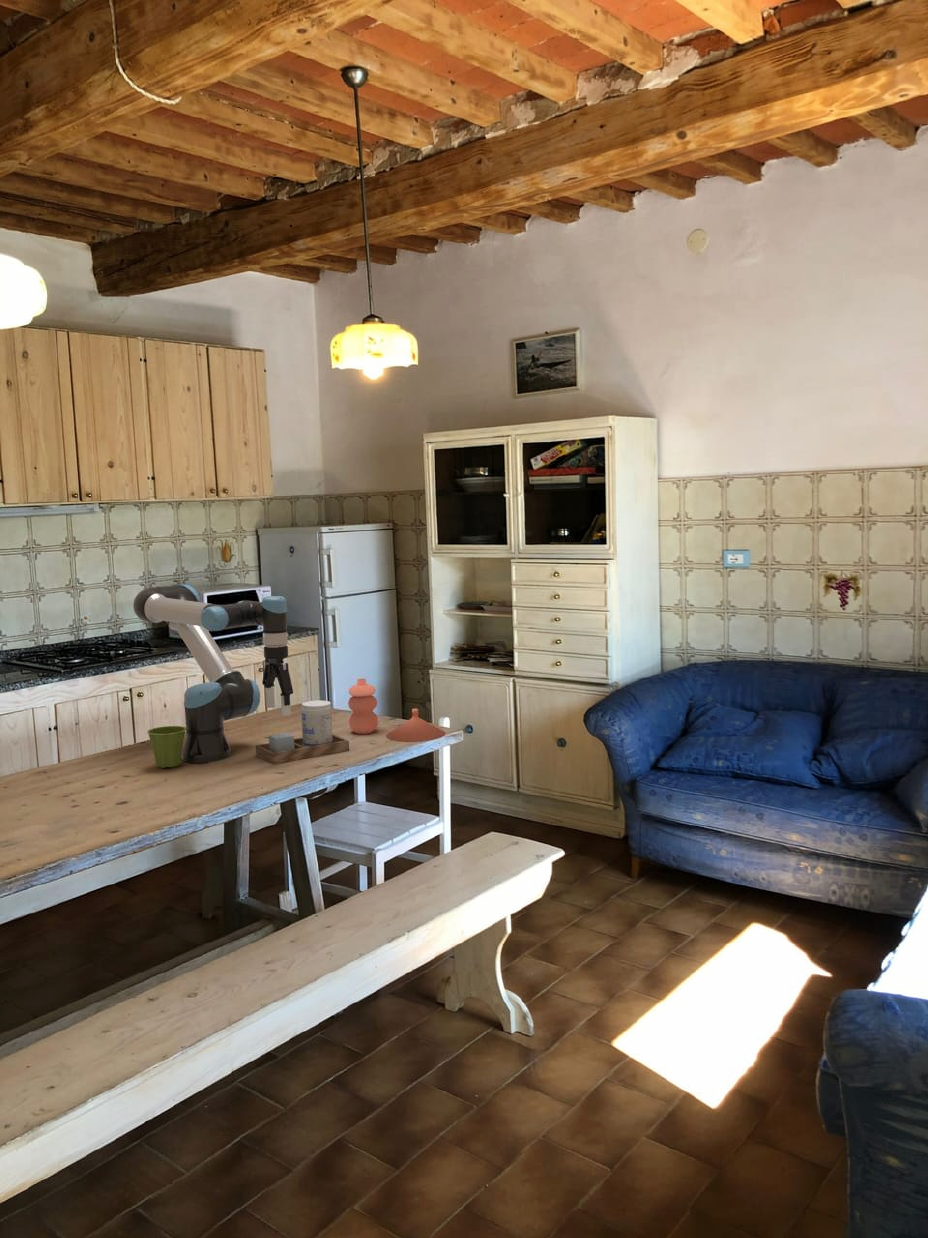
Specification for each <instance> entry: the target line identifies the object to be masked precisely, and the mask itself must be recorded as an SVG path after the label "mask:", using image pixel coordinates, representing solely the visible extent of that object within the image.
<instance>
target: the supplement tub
mask: <svg viewBox="0 0 928 1238" xmlns="http://www.w3.org/2000/svg"><path fill="white" fill-rule="evenodd" d="M332 714H333V713H332V703H331V701H329V700H309V701H305V702H303V703H301V724H302V725H301V726H302V727H301V729H302V730H301V733H302V738H303V747H310V746H316V745H322V744H328V743H333V740H332V734H333V715H332Z"/></svg>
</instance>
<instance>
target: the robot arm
mask: <svg viewBox="0 0 928 1238" xmlns="http://www.w3.org/2000/svg"><path fill="white" fill-rule="evenodd" d="M286 599H287V598H285V597H284V596H281V595H277V596H276V595H271V596H270V595H269V596H268V595H267V596H264V597H263V598H262V599H261V601H253V600H241V601H237V602H236V603H229V604H215V603H214V604H213V603H208V602H200V601H201V597H200V595H199V594H198V592H197V590H195V588H194V587H192V586H191V585H188V584H179V583H176V584H175V583H174V584H172V585H163V586H155V587H154V586H152V587H151V586H150V587H147V588H145V589H142V590H141V591H139V592H138V593H137V595H136V596H135V597H134V600H133V604H132V605H133V611H134V614H135V615H136V616H137V618H138V619H139V620H141V621H144V622H147V623H154V624H157V623H161V622H165V623H166V624H167V626H168V627H169V629H171V631H172V630H173V631H177V633H178V635H179V636H180V638H181V640H183V642H184V644H185V645H186V647H187V649H188V650H189V652H190V653H191V656H193V658H194V660H195V662H196V663H197V664H198V666H199V668H200V669H201V670H202V672H203V674H204V676H205V677H206V679H207V680H208V681H207V682H205V683H198V684H195V685H193V686H190V687H188V688H187V689H186V690H185V691H184V695H183V707H184V717H185V728H186V731H185V733H186V735H185V736H186V737H185V740H184V743H183V744H184V745H183V746H182V755H181V761H183V762H185V763H190V764H208V763H213V762H218V761H222V760H225V759H228V758H230V757H231V755H232V751H231V747H230V744H229V742H228V739H227V736H226V734H225V730H224V727H225V726H224V722H225V721H230V720H233V719H234V720H235V719H237V718H244V717H246V716H248V715H249V716H250V715H251V714H254V713H255V712H256V711H257V709H259V706H260V703H261V691H260V687H259V685H258V684H257V682H256V681H255V680H253V679H250V678H246V679H245V677H244V675H243V674H242V672H241V671H239V670H237V669H233V668H232V667H233V666H232V665H231V664H230V663H229V661H228V660H227V658H226V656H225V655H224V653H223V652H222V650H221V649H220V647H219V645H218V644H217V643H216V641H215V639H214V637H212V635H211V633H210V632H218V631H219V632H220V631H223V630H228V629H234V628H241V627H248V626H262V642H263V643H262V644H263V645H264V647H263V658H264V669H263V670H264V671H263V674H262V675H263V676H262V685H263V686H264V688H265V709H271V708H275V707H276V703H275V702H276V701H275V700H276V699H275V687H276V685H275V684H274V683H275V680H276V678H277V681H278V685H279V687H280V688H279V689H280V692H281V693H280V702H281V703H280V704H281V706H280V707H281V716H282V717H286V716H291V715H292V713H291V709H292V708H291V695H292V694H294V689H293V684H292V680H291V673H290V670H289V662H284V659H286V658H288V657H289V646H288V645H287V644H288V643H289V642H288V637H289V634H288V613H287V612H288V608H287V607H288V606H287V600H286Z"/></svg>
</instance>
